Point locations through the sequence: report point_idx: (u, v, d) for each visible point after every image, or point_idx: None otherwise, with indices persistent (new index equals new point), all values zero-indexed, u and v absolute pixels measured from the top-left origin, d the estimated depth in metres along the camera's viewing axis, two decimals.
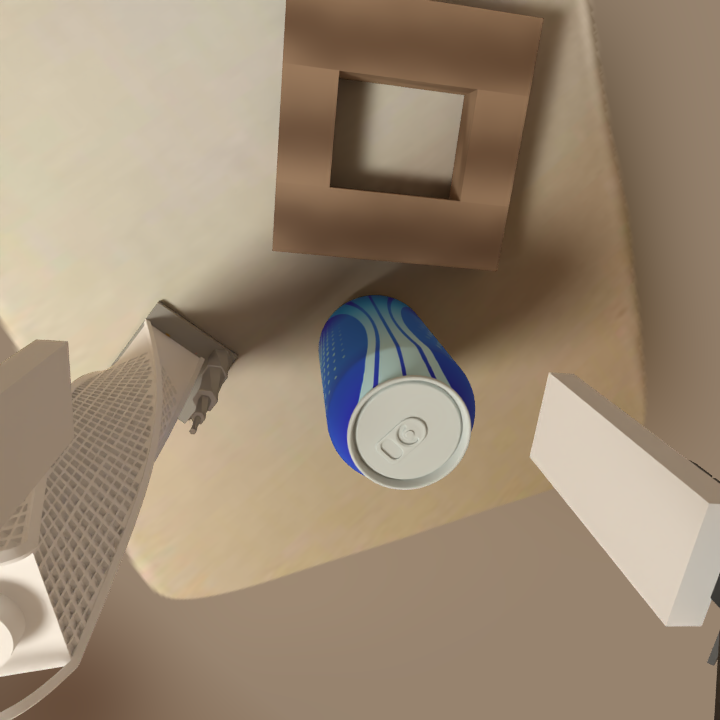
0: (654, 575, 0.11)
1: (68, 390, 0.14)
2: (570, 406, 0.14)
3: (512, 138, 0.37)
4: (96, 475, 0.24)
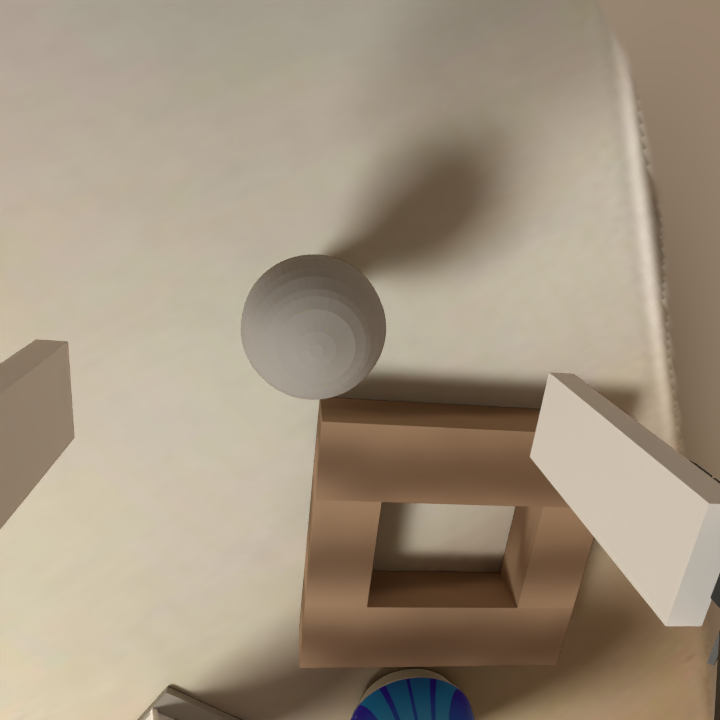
0: (654, 575, 0.11)
1: (69, 390, 0.14)
2: (570, 406, 0.14)
3: (580, 547, 0.32)
4: None
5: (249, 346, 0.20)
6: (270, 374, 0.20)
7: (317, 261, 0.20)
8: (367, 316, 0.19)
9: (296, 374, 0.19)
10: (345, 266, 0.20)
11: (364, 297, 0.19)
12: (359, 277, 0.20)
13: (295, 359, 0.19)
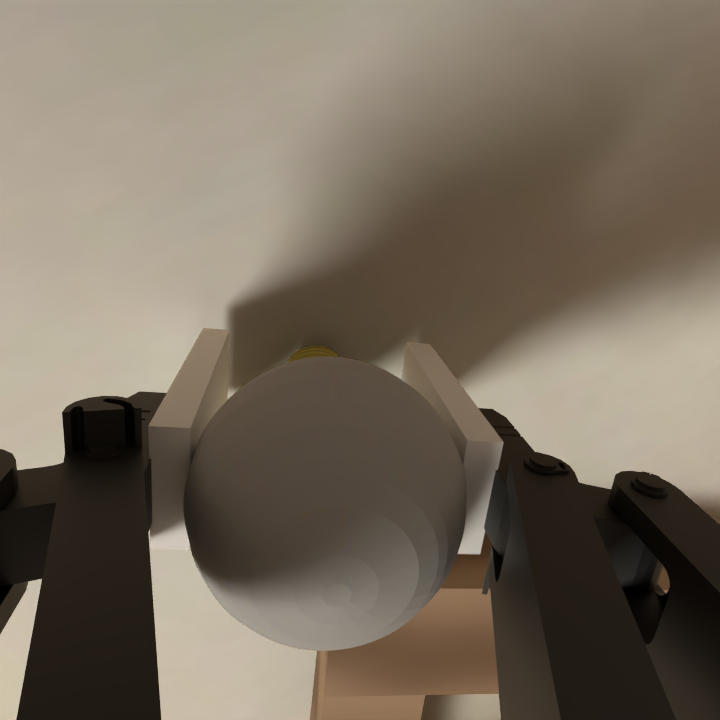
0: None
1: (226, 371, 0.17)
2: (414, 370, 0.16)
3: None
4: None
5: (196, 559, 0.10)
6: (239, 619, 0.09)
7: (336, 383, 0.10)
8: (442, 502, 0.09)
9: (293, 631, 0.09)
10: (392, 390, 0.10)
11: (434, 461, 0.09)
12: (420, 410, 0.10)
13: (291, 607, 0.09)
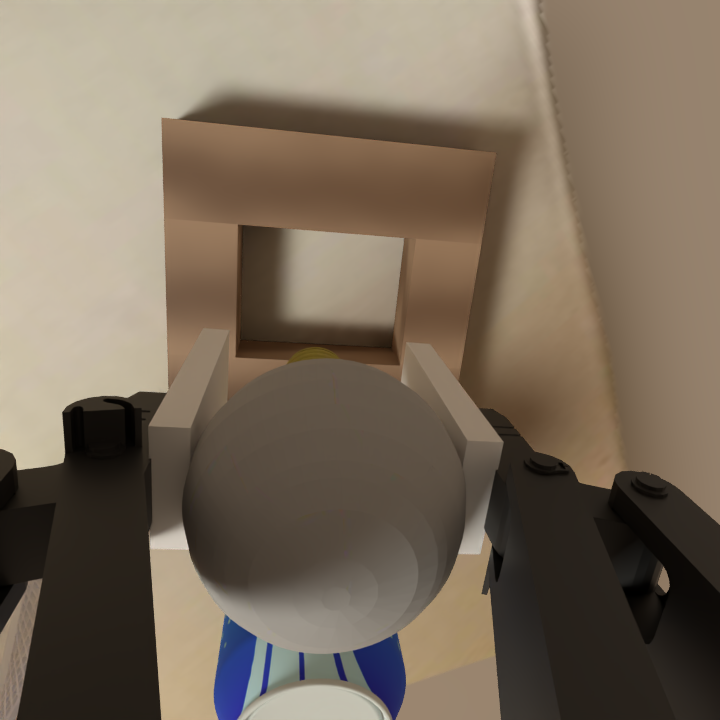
0: None
1: (226, 371, 0.17)
2: (414, 370, 0.16)
3: (461, 292, 0.30)
4: None
5: (195, 562, 0.10)
6: (238, 623, 0.09)
7: (335, 385, 0.10)
8: (441, 505, 0.09)
9: (292, 635, 0.09)
10: (391, 392, 0.10)
11: (434, 463, 0.09)
12: (420, 412, 0.10)
13: (291, 611, 0.09)
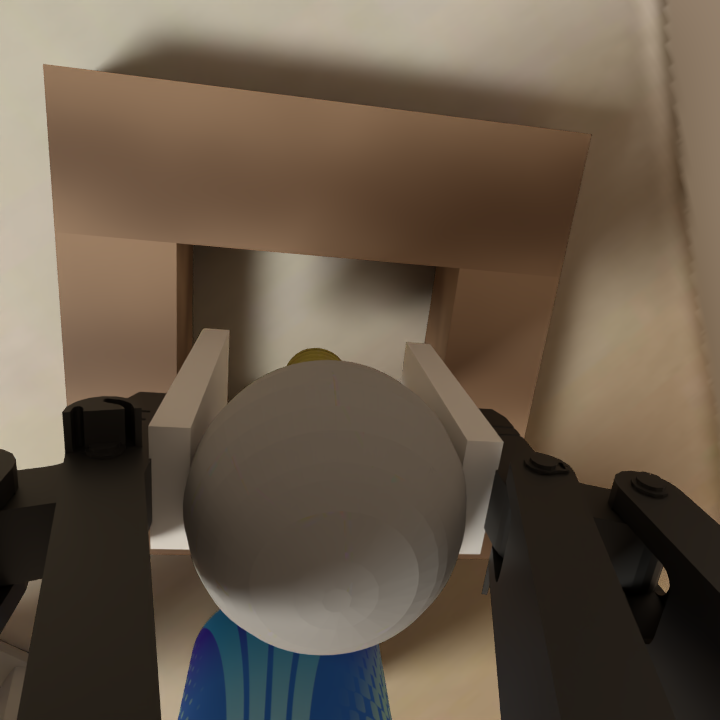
0: None
1: (226, 371, 0.17)
2: (414, 370, 0.16)
3: (526, 349, 0.19)
4: None
5: (196, 563, 0.10)
6: (239, 623, 0.09)
7: (336, 387, 0.10)
8: (442, 507, 0.09)
9: (293, 636, 0.09)
10: (392, 394, 0.10)
11: (434, 465, 0.09)
12: (420, 414, 0.10)
13: (291, 613, 0.09)
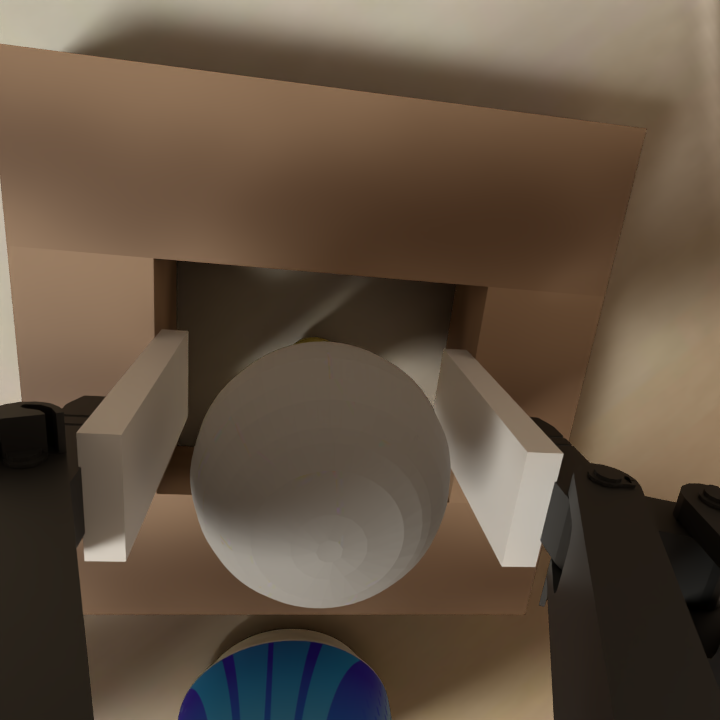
0: (497, 522, 0.12)
1: (186, 374, 0.16)
2: (455, 377, 0.16)
3: (563, 379, 0.17)
4: None
5: (202, 523, 0.11)
6: (241, 577, 0.10)
7: (330, 363, 0.11)
8: (425, 470, 0.10)
9: (290, 586, 0.10)
10: (381, 370, 0.11)
11: (419, 433, 0.10)
12: (408, 388, 0.11)
13: (288, 564, 0.10)
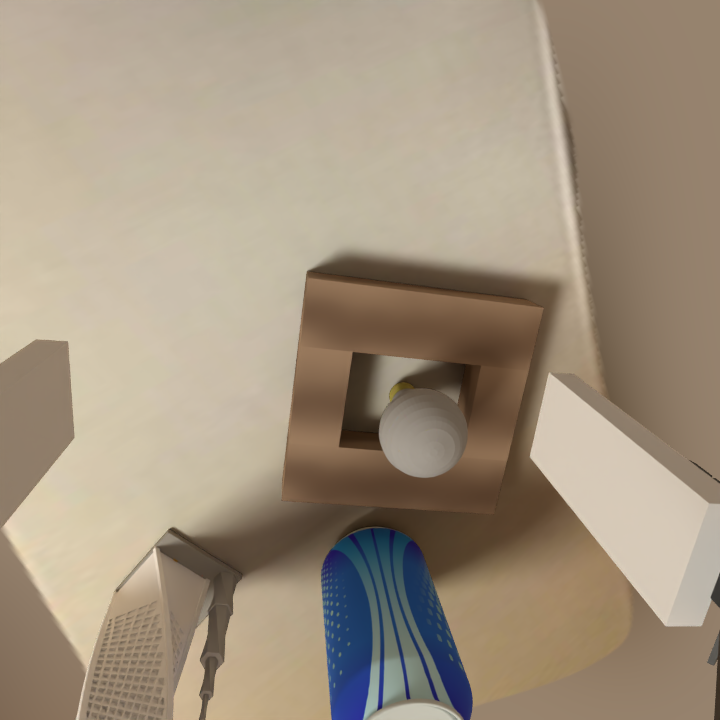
0: (654, 575, 0.11)
1: (68, 390, 0.14)
2: (570, 406, 0.14)
3: (511, 404, 0.39)
4: None
5: (389, 446, 0.33)
6: (402, 463, 0.33)
7: (431, 396, 0.33)
8: (461, 431, 0.33)
9: (419, 465, 0.32)
10: (446, 399, 0.34)
11: (459, 419, 0.33)
12: (455, 405, 0.34)
13: (420, 456, 0.32)
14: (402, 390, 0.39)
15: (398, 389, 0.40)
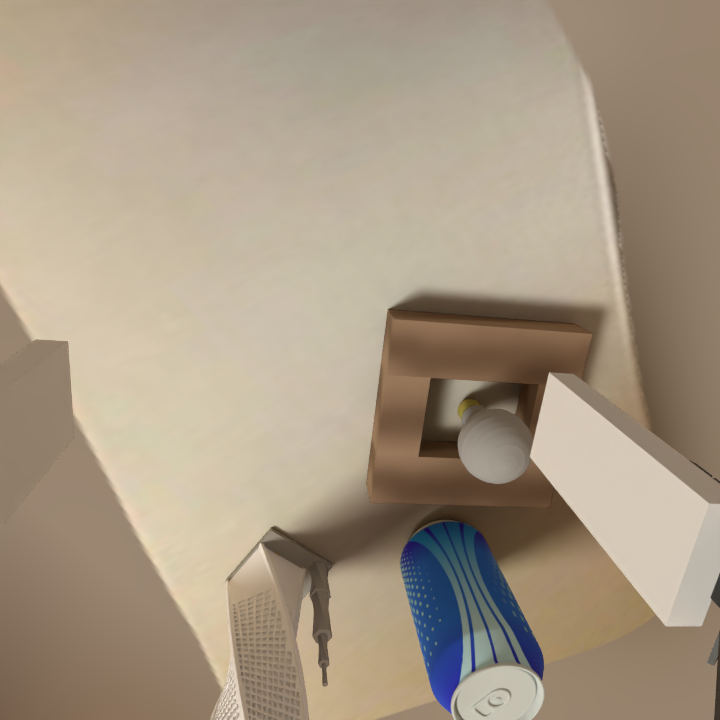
0: (654, 575, 0.11)
1: (69, 390, 0.14)
2: (570, 405, 0.14)
3: None
4: None
5: (470, 459, 0.40)
6: (481, 473, 0.40)
7: (503, 417, 0.40)
8: (529, 445, 0.40)
9: (496, 474, 0.39)
10: (516, 418, 0.40)
11: (527, 435, 0.40)
12: (523, 423, 0.40)
13: (497, 468, 0.39)
14: (471, 407, 0.45)
15: (467, 405, 0.46)
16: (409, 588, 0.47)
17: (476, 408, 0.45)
